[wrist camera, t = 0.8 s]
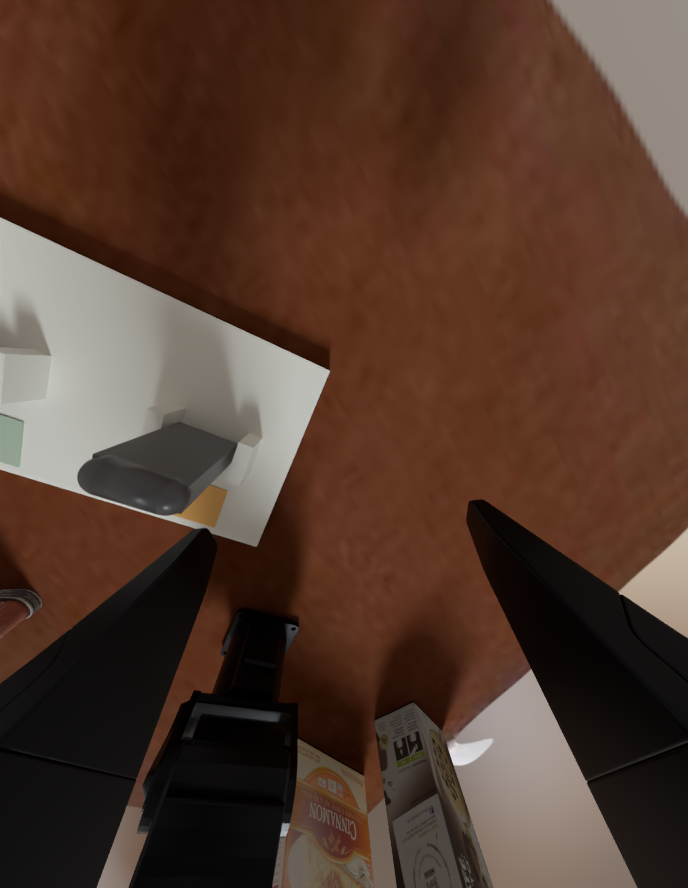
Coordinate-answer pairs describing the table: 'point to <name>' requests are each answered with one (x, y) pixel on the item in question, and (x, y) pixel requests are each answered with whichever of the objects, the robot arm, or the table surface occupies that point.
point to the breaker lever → (158, 469)
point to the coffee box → (426, 806)
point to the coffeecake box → (325, 827)
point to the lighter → (16, 607)
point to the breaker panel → (139, 381)
